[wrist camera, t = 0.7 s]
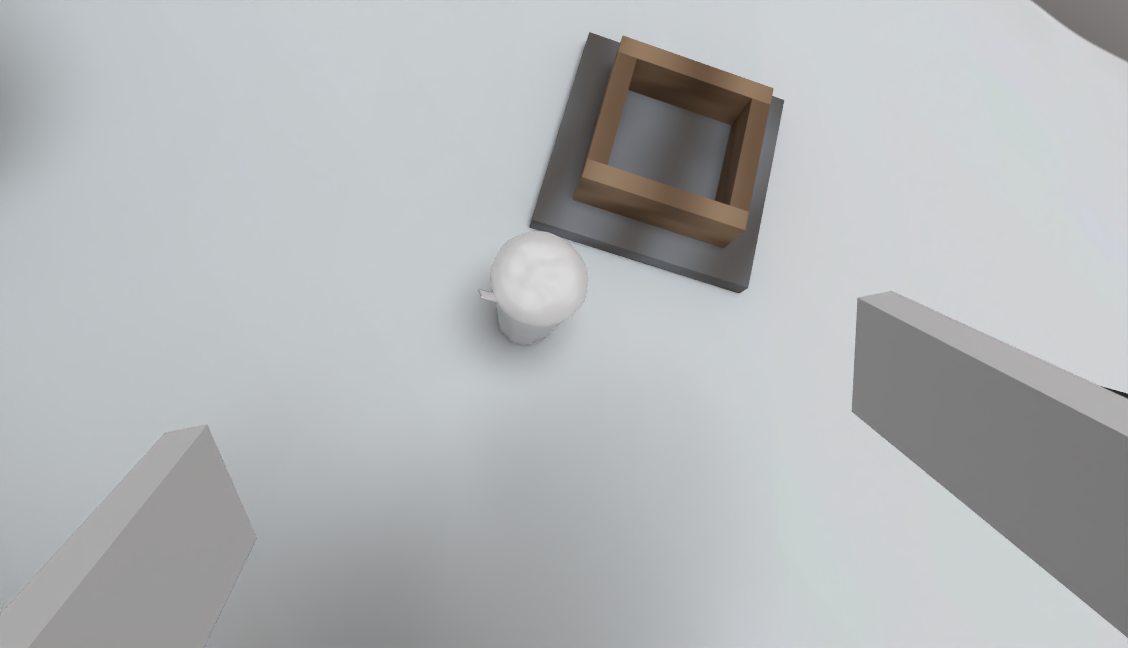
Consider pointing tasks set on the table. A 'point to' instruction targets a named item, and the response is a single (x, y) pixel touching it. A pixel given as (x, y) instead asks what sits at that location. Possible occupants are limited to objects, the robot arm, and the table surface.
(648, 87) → the socket board
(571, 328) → the table surface
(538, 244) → the milkshake
